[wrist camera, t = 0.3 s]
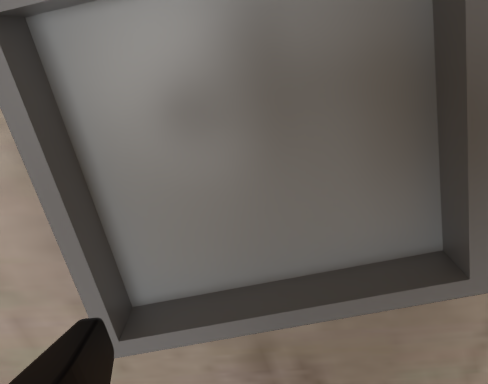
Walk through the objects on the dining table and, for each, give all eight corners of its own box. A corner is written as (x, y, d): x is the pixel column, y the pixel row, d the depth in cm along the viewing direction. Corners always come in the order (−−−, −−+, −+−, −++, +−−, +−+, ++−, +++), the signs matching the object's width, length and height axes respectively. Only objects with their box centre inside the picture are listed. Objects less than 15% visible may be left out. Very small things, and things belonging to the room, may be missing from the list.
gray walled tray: (456, 256, 24) (490, 292, 21) (124, 317, 25) (106, 359, 22) (446, -108, 17) (493, -141, 14) (2, -1, 19) (-49, -8, 16)
